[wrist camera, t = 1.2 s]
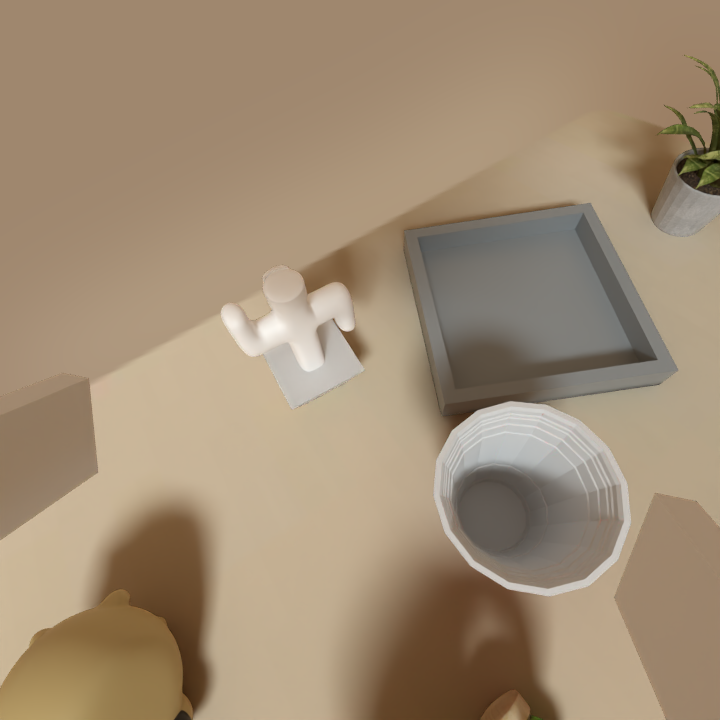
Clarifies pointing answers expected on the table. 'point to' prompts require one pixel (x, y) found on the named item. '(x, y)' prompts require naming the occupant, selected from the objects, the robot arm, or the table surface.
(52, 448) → the robot arm
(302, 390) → the figurine
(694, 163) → the house plant
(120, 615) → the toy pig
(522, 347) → the tray
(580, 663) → the table surface
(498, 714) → the toy lion
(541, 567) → the plastic cup
